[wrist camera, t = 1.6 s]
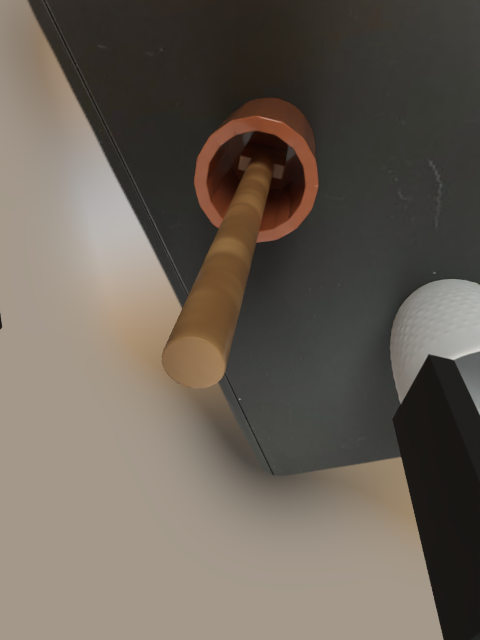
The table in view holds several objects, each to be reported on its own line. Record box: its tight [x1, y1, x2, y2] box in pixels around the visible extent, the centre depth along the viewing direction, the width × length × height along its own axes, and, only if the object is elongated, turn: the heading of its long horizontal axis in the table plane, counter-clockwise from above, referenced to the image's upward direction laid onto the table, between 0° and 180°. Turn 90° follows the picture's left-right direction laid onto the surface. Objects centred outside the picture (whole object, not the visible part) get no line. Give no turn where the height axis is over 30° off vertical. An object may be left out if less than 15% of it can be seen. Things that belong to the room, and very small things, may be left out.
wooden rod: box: [162, 142, 287, 389], centre depth 23 cm, size 3×2×27 cm, turn 79°
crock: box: [194, 98, 319, 243], centre depth 31 cm, size 8×8×10 cm
